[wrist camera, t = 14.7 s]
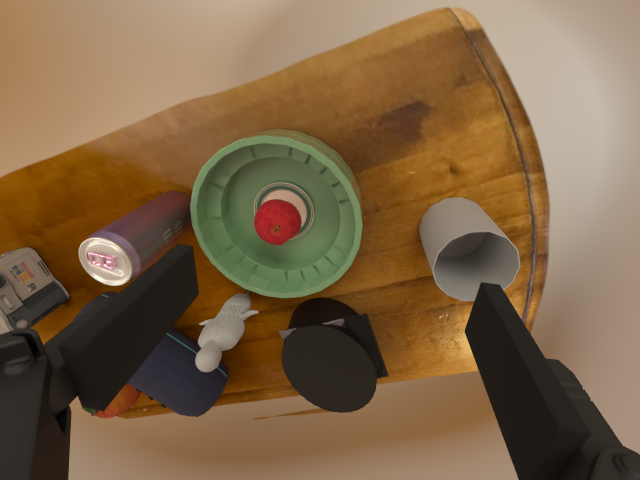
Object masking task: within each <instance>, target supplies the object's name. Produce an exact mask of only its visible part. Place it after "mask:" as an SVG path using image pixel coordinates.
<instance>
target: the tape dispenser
mask: <svg viewBox="0 0 640 480" xmlns="http://www.w3.org/2000/svg"><path fill="white" fill-rule="evenodd" d="M279 333H280V335H281V338H282V339H283V341H284V345H283V349H282V364H283V368H284V371H285V374H286V376H287V378H288V380H289V381H290V383H291V384H292V386H293V387H294V388H295V389H296V390H297V391H298V393H299V394H300V395H302V396H303V397H304V398H305V399H307V400H308V401H309V402H311V403H312V404H314V405H316V406H318V407H320V408H323V409H325V410H329V411H332V412H340V413H343V412H352V411H356V410H358V409H360V408H362V407H364V406H365V405H366V404H368V403H369V402H370V400H371V399H372V397H373V395H374V393H375V390H376V382H377V379H376V378H381V377H387V376H388V373H387V370H386V367H385V364H384V361H383V359H382V356H381V353H380V350H379V347H378V344H377V341H376V339H375V336H374V333H373V330H372V327H371V324H370V321H369V319H368V316H367V314H362V315H359V314H358V313H357V312H355V311H354V310H353V309H352V308H350V307H349V306H347V305H346V304H343V303H341V302H339V301H337V300H333V299H330V298H313V299H310V300H307V301H305V302H303V303H302V304H300V305H299V306H298V307H297V309H296V310H295V311H294V313H293V315H292V318H291V321H290V324H289V327H288V329H287V330H281V331H279Z"/></svg>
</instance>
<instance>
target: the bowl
mask: <svg viewBox="0 0 640 480" xmlns="http://www.w3.org/2000/svg"><path fill="white" fill-rule="evenodd" d="M278 182H284V183H289V184H292V185H295V186H297V187H299V188H300V189H301V190H303V191H304V192H305V193H306V194H307V196H308V197H309V199H310V201H311V203H312V205H313V210H314V218H313V222H312V225H311V227H310V228H309V230H308V231H307V232H306V233H305V234H303V235H302V236H300V237H298V238H296V239H291V240H288V241H286V242H285V243H284V244H283V245H273V244H269V243H267V242H265V241H264V240H262V239H261V238H260V237H259V236H258V234H257V232H256V230H255V227H254V218H255V215H254V202H255V199H256V197H257V195H258V193H259V192H260V191H261V190H262V189H263V188H265V187H266V186H268V185H270V184H273V183H278ZM190 210H191V219H192V226H193V229H194V232H195V235H196V237H197V240H198V242H199V245H200V247H201V249H202V250H203V252H204V253H205V254H206V256H207V257H208V259H209V260H210V262H211V263H212V264H213V265H214V266H215V267H216V268H217V269H218V270H219V271H220V272H221V273H222V274H223V275H224V276H226V277H227V278H228V279H230V280H231V281H233V282H234V283H236V284H238V285H239V286H241V287H243V288H244V289H247V290H250V291H252V292H255V293H258V294H261V295H264V296H270V297H277V298H294V297H303V296H307V295H310V294H313V293H316V292H319V291H322V290H323V289H325V288H327V287H328V286H330V285H331V284H333V283H334V282H336V281H337V280H339V279H340V278H341V276H342V275H343V274H344V273H345V272H346V271H347V270H348V269H349V267H350V266H351V265H352V263H353V261H354V258H355V256H356V254H357V252H358V250H359V248H360V242H361V235H362V229H363V205H362V198H361V191H360V188H359V186H358V183H357V181H356V179H355V177H354V174H353V172H352V171H351V169H350V168H349V166H348V165H347V164H346V163H345V161H344V160H343V159H342V158H341V156H340V155H339V154H338V153H337V152H336V151H334V150H333V149H332V148H330V147H329V146H328V145H326V144H325V143H323V142H322V141H321V140H319V139H317V138H315V137H312V136H309V135H307V134H304V133H302V132H299V131H294V130H283V129H271V130H265V131H260V132H255V133H252V134H250V135H248V136H246V137H244V138H241V139H239V140H237V141H235V142H234V143H232V144H230V145H228V146H226V147H224V148H222V149H220V150H219V151H217V152H216V153H215V154H214V155H213V156H212V158H211V159H210V160H209V161H208V162H207V163H206V164H205V165H204V166H203V167H202V169H201V171H200V173H199V175H198V177H197V179H196V181H195V183H194V186H193V191H192V197H191V203H190Z"/></svg>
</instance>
